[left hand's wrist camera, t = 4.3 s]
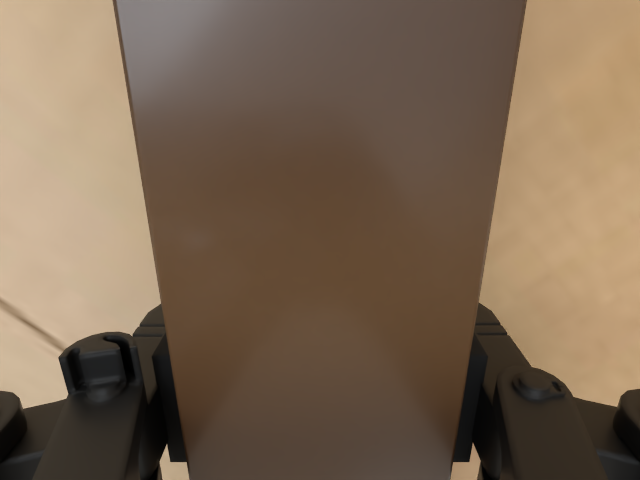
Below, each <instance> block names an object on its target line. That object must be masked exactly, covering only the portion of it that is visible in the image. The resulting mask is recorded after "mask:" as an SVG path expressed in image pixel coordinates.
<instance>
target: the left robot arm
mask: <svg viewBox="0 0 640 480" xmlns="http://www.w3.org/2000/svg"><path fill="white" fill-rule="evenodd" d="M59 362H60V365H61V369H62V372H63V376H64V380H65V383H66V387H67V390H68V396H67V399H64V400H61V401H57V402H53V403H48V404H44V405H39V406H35V407H30V408H25V409H23V408H22V405H21V402H20V399H19V397H17V396H16V395H15V394H14V393H12V392H5V391H0V480H162V474H161V468H160V462H159V461H160V459H161V457H162V454H163V452H164V449H165V447H166V444H167V445H168V451H169V457H170V462H187V460H186V454H185V448H184V442H183V435H182V429H181V423H180V417H179V411H178V404H177V398H176V392H175V386H174V379H173V373H172V367H171V361H170V354H169V348H168V342H167V336H166V329H165V323H164V317H163V311H162V304H160V305H159V306H157V307H156V308H154V309H153V310H151V311H150V312H148V314H147V315H146V316H145V318H144V319H143V321H142V322H141V323H140V327H138V328H137V329H136V330H135V332H134V333H133V337H132V336H131V335H130V334H126V333H122V332H105V333H100V334H96V335H91V336H89V337H86V338H84V339H82V340H79V341H77V342H75V343H74V344H72V345H71V346H69V347H68V348H66V349H65V350H64V352H63V353H62V354H61V355H60V356H59ZM473 443H474V445H475V448H476V450H477V453H478V455H479V458H480V460H481V462H480V468H479V473H478V478H477V480H640V389H636V390H629V391H627V392H625V393H624V394H623V395H622V396H621V398H620V401H619V404H618V407H614V406H609V405H605V404H600V403H595V402H591V401H586V400H582V399H579V398H575V397H573V396H572V393H571V392H570V391H569V389H568V388H567V386H566V385H565V384H564V383H563V382H561V381H560V380H559V379H558V378H556V377H555V376H554V375H551V374H549V373H547V372H545V371H543V370H541V369H537V368H533V367H531V365H530V364H529V363H528V361H527V360H526V358H525V357H524V356H523V354H522V353H521V351H520V350H519V349H518V347H517V346H516V344H515V343H514V342H513V340H512V339H511V337H510V336H509V335H507V332H506V330H505V329H504V328H503V326H502V325H500V322H499V321H498V319H497V318H496V316H495V315H494V314H493V312H492V311H491V310H489V309H488V308H486V307H485V306H483V305H482V304H480V303H479V302H478V308H477V315H476V321H475V327H474V333H473V340H472V346H471V352H470V358H469V365H468V371H467V377H466V383H465V390H464V396H463V402H462V408H461V415H460V421H459V427H458V433H457V440H456V446H455V452H454V458H453V462H469V460H470V455H471V449H472V444H473Z"/></svg>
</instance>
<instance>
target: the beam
mask: <svg viewBox="0 0 640 480" xmlns="http://www.w3.org/2000/svg"><path fill="white" fill-rule="evenodd" d="M526 2H527V0H113V5H114V11H115V17H116V24H117V30H118V36H119V42H120V49H121V55H122V61H123V67H124V74H125V80H126V86H127V92H128V99H129V105H130V111H131V117H132V124H133V130H134V136H135V142H136V148H137V155H138V161H139V167H140V173H141V180H142V186H143V192H144V198H145V205H146V211H147V217H148V223H149V230H150V236H151V242H152V248H153V255H154V261H155V267H156V273H157V279H158V286H159V292H160V298H161V304H162V311H163V317H164V323H165V329H166V336H167V342H168V348H169V354H170V361H171V367H172V373H173V379H174V386H175V392H176V398H177V404H178V411H179V417H180V423H181V429H182V435H183V442H184V448H185V454H186V460H187V467H188V473H189V479H190V480H450V477H451V471H452V465H453V458H454V452H455V446H456V440H457V433H458V427H459V421H460V415H461V408H462V402H463V396H464V390H465V383H466V377H467V371H468V365H469V358H470V352H471V346H472V340H473V333H474V327H475V321H476V315H477V308H478V302H479V296H480V290H481V283H482V277H483V271H484V265H485V258H486V252H487V246H488V240H489V233H490V227H491V221H492V215H493V208H494V202H495V196H496V190H497V183H498V177H499V171H500V165H501V158H502V152H503V146H504V140H505V133H506V127H507V121H508V114H509V108H510V102H511V96H512V89H513V83H514V77H515V71H516V64H517V58H518V52H519V46H520V39H521V33H522V27H523V21H524V14H525V8H526Z"/></svg>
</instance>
